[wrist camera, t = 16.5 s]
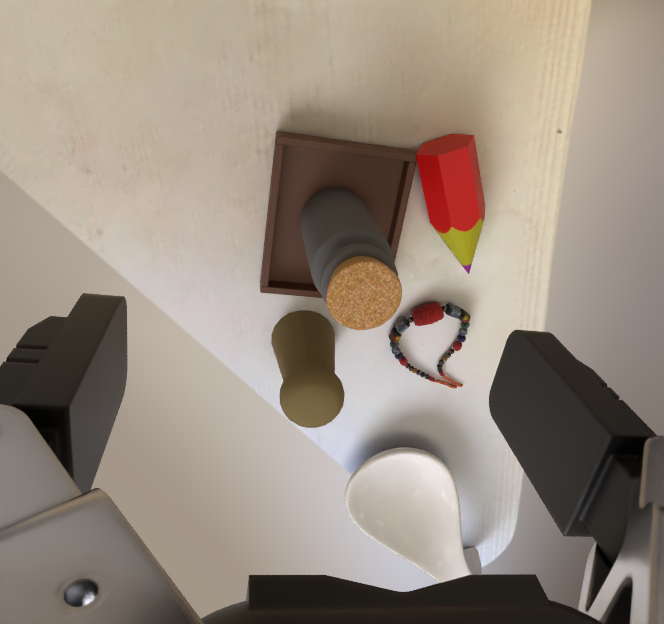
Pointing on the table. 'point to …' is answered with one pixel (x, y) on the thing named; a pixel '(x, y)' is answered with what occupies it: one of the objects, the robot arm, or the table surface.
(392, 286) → the bottle
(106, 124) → the table surface
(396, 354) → the necklace
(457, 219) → the pencil
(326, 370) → the pepper shaker
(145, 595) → the robot arm
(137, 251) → the table surface
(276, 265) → the tray
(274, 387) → the table surface
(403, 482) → the spoon rest
